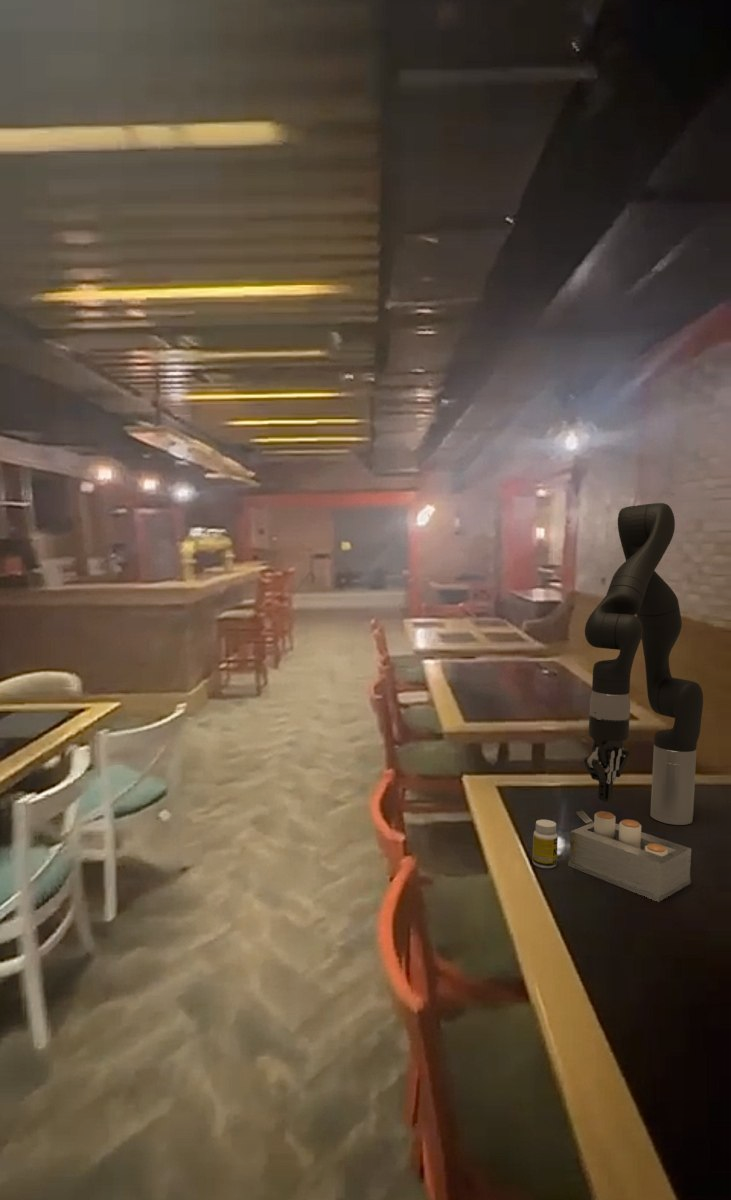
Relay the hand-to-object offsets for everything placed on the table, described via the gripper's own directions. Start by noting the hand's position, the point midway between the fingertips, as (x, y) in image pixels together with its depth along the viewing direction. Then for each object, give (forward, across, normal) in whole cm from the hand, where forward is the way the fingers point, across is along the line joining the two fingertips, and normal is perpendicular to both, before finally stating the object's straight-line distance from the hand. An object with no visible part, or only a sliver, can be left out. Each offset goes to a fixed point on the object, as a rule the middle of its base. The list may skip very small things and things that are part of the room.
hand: (605, 800), depth 147 cm
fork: (+14, -18, -10) cm, 25 cm away
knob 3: (+12, 0, +11) cm, 16 cm away
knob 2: (+9, 0, +6) cm, 11 cm away
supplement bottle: (+14, +9, -7) cm, 18 cm away
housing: (+13, 0, +6) cm, 14 cm away
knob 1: (+9, 0, 0) cm, 9 cm away
